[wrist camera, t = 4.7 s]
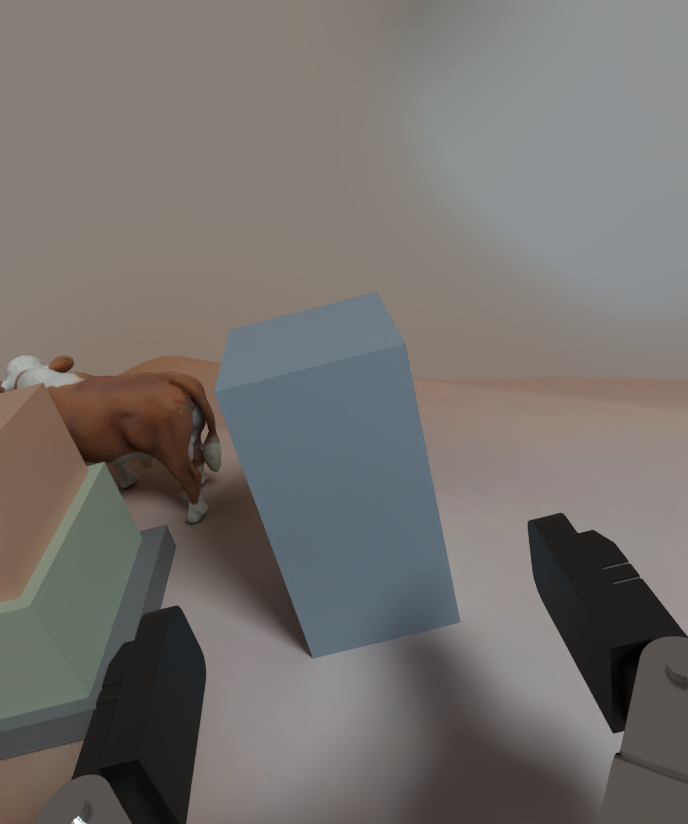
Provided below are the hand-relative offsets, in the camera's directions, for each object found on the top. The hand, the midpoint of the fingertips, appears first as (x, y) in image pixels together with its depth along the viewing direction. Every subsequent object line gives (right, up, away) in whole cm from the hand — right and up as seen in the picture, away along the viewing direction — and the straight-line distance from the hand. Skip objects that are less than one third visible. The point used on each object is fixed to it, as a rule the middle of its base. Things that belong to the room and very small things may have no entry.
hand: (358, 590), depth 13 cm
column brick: (+1, -2, +8) cm, 9 cm away
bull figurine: (-11, -1, +18) cm, 21 cm away
